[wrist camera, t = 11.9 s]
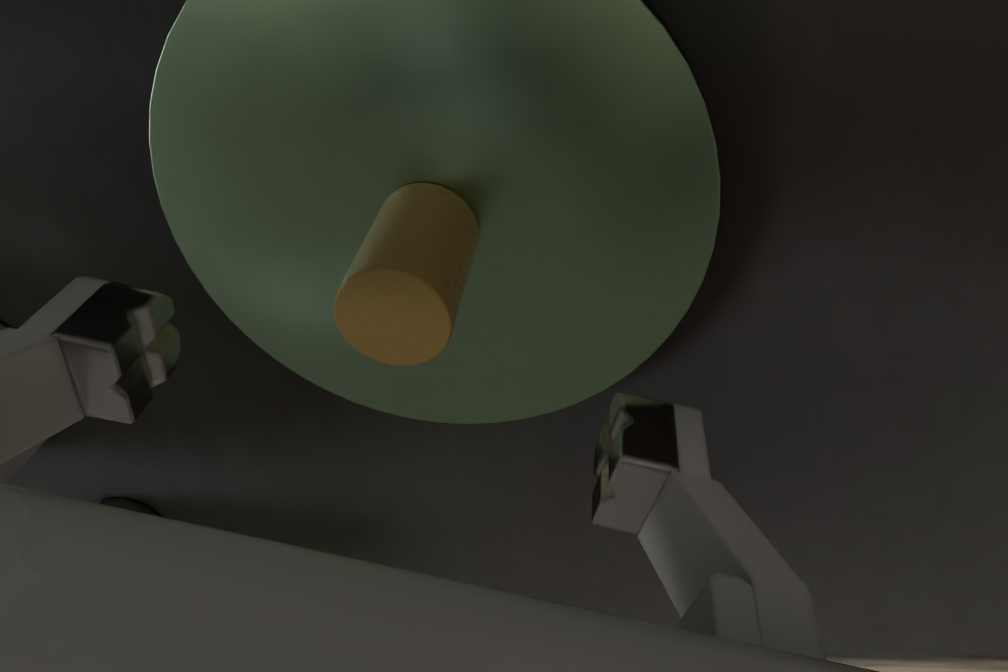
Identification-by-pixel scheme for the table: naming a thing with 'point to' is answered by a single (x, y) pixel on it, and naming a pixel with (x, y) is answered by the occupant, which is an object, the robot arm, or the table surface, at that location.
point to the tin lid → (439, 192)
